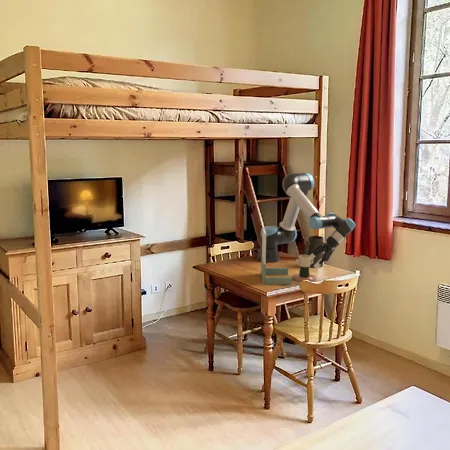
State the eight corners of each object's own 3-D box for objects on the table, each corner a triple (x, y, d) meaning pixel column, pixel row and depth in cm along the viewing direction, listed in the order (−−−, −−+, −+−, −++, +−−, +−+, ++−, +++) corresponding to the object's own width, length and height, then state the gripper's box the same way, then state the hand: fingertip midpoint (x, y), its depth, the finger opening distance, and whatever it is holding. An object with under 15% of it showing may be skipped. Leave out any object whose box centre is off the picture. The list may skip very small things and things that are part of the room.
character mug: (310, 274, 324) (311, 254, 322) (314, 277, 317) (315, 256, 315) (293, 275, 322) (294, 254, 320) (297, 278, 315) (298, 257, 313)
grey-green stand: (287, 274, 330) (289, 227, 325) (291, 284, 307) (293, 234, 302) (261, 273, 331) (262, 226, 326) (262, 284, 307) (263, 233, 302)
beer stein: (313, 262, 361) (313, 234, 356) (327, 265, 353) (327, 236, 349) (300, 268, 350) (300, 238, 346) (313, 271, 342) (313, 241, 338)
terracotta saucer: (287, 277, 322) (287, 275, 322) (304, 274, 330) (304, 272, 330) (303, 282, 311) (303, 280, 310) (320, 279, 318) (320, 277, 318)
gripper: (347, 247, 309) (323, 274, 308) (329, 239, 333) (307, 264, 332) (339, 239, 307) (314, 265, 306) (322, 231, 331) (299, 256, 330)
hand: (310, 265), depth 319 cm, fingers open, 13 cm apart
